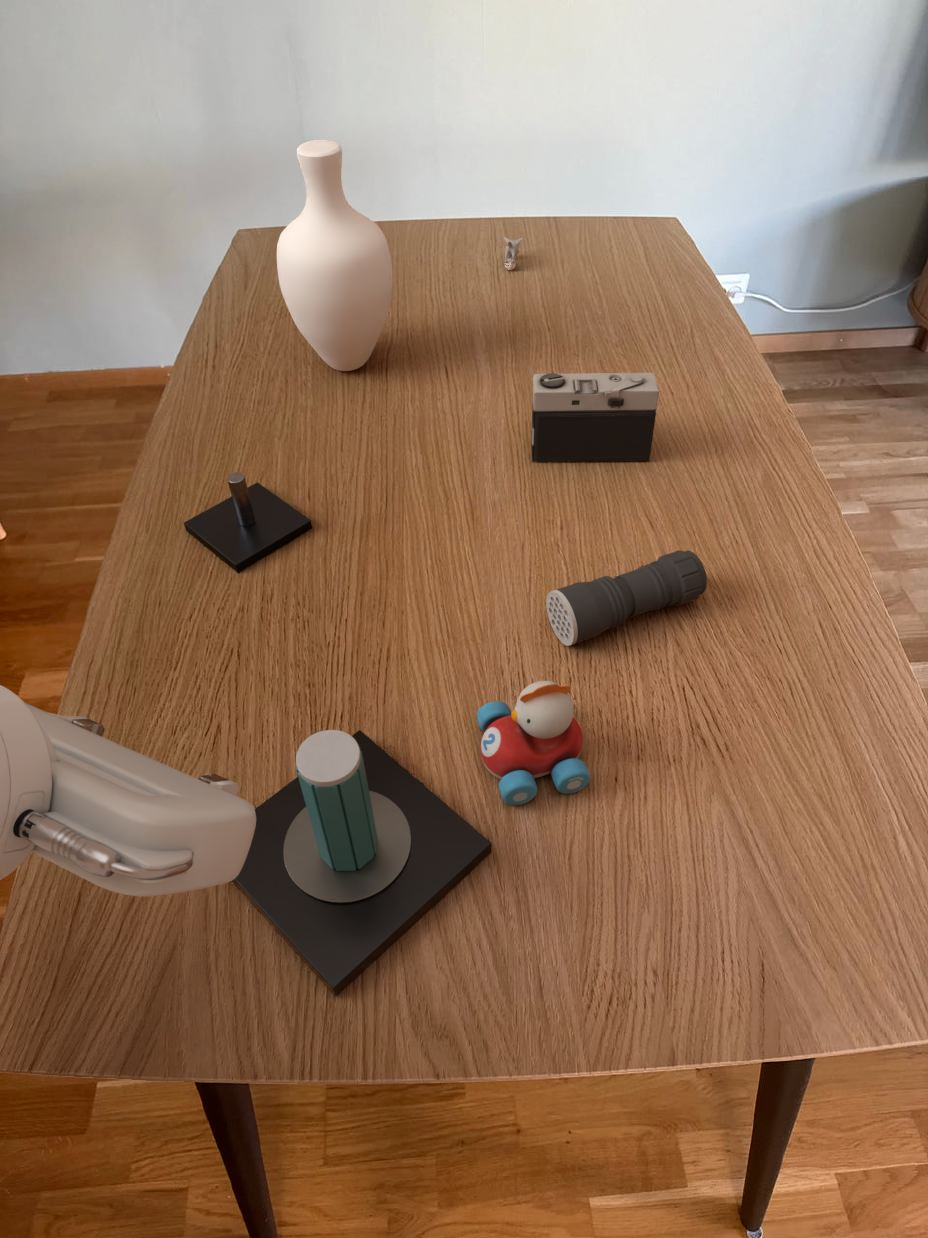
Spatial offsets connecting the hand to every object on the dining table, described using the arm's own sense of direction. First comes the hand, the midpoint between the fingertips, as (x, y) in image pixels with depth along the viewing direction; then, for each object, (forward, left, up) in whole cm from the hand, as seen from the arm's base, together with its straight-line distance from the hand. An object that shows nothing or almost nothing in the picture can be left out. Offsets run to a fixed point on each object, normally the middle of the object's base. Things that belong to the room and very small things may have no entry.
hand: (156, 763), depth 51 cm
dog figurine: (+96, +62, -24) cm, 117 cm away
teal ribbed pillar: (+11, 0, -22) cm, 24 cm away
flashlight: (+47, +1, -24) cm, 52 cm away
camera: (+67, +22, -24) cm, 74 cm away
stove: (+11, 0, -24) cm, 26 cm away
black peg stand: (+29, +39, -24) cm, 54 cm away
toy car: (+28, -4, -24) cm, 37 cm away
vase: (+59, +58, -24) cm, 86 cm away
